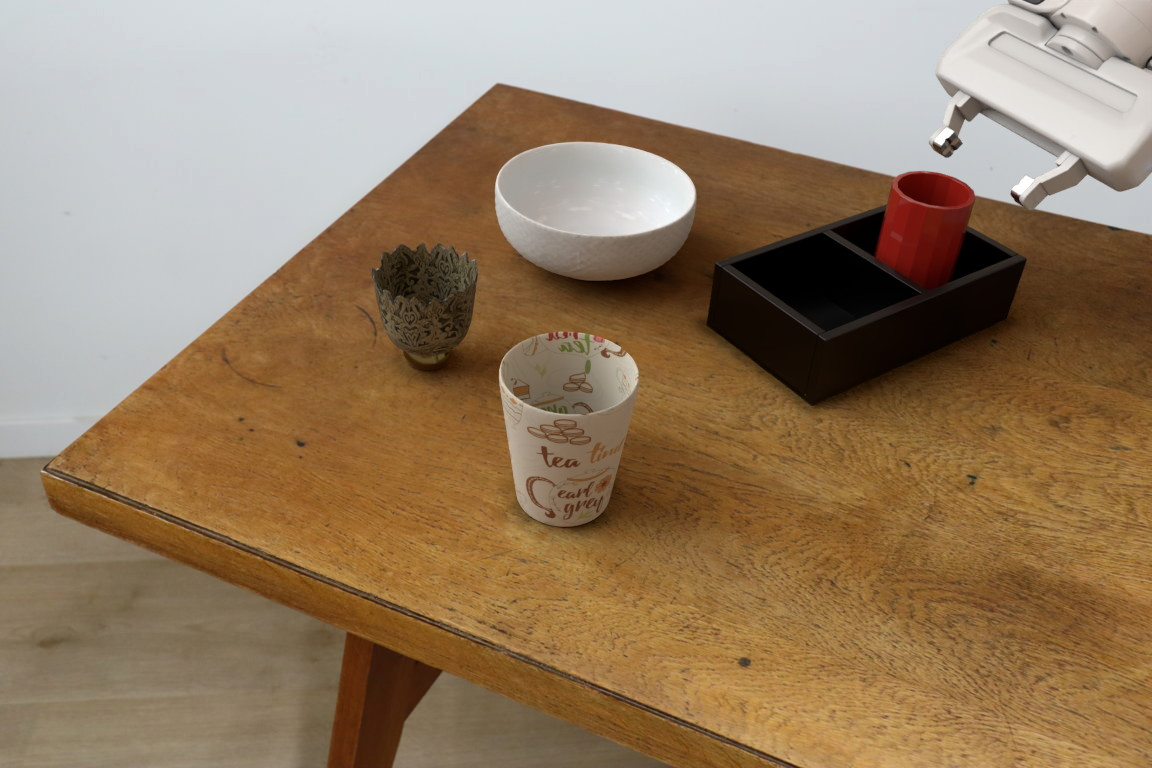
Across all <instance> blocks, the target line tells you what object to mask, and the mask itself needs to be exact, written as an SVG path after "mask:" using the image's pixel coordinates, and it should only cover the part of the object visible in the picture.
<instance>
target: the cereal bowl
mask: <svg viewBox="0 0 1152 768" xmlns="http://www.w3.org/2000/svg"><path fill="white" fill-rule="evenodd" d="M494 185H495V187H494V203H495V207H494V209H495V211H496V217H497V223H498V224H499V228H500V231H501V232H502V234H503V237H505V238H506V240H507V242H508V244H510V245H511V247H512V248H513V249H515V251H517V253H518V254H519V255H521V256H522V258H524V259H525V260H527V261H529V262H530V263H532V264H534V265H535V266H536V267H539V268H541V269H543V270H545V271H547V272H550V273H554V274H556V275H559V276H563V277H567V278H571V279H574V280H580V281H588V282H601V281H603V282H605V281H610V282H611V281H615V280H616V281H617V280H618V281H620V280H625V279H629V278H635V277H637V276H638V277H639V276H640V275H644V274H646V273H650V272H651V271H654V270H656V269H659V267H661V266H664V264H666V263H667V262H669V261H670V260H671V259H672V258H673V257H674V256H676V255H677V254H678V253H677V252H678V251H680V250H681V248H682V247H683V246H684V244H685V243H686V240H687V239H688V238H689V234H690V232H691V230H692V226H693V223H694V219H695V216H696V209H697V201H698V196H697V195H698V194H697V189H696V186H695V184H694V182H693V181H692V179H691V177H690V176H689V175H688V174H687V173H686V172H685V171H684V170H682V168H680V167H679V165H676V164H675V163H674V162H672V161H670V160H668V159H666V158H664V157H662V156H660V155H657V154H655V153H652V152H648V151H645V150H643V149H640V148H635V147H631V146H627V145H621V144H615V143H608V142H607V143H606V142H598V141H597V142H595V141H569V142H568V141H567V142H559V143H558V142H557V143H551V144H546V145H545V144H544V145H542V146H538V147H534V148H531V149H528V150H525V151H522V152H521V153H519V154H516V155H515V156H514V157H512V158H510V159H509V160H507V162H505V163H504V164H503V166H502V167H501V168H500V170H499V171H498V174H497V176H496V180H495V184H494Z"/></svg>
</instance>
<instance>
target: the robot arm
mask: <svg viewBox="0 0 1152 768" xmlns="http://www.w3.org/2000/svg"><path fill="white" fill-rule="evenodd" d="M1007 2H1008V3H1002V4H997V5H995V6H993V7H991V8H988V9H987V10H986V11H984V12H983V13H982V14H980V15H979V16H978V17H977V18H976V19H975V20H973V22H972V23H971V24H970V25H969V26H968V27H966V29H964V30H963V32H961V34H959V36H958V37H957V38H956V39H954V40H953V42H952V43H951V44H950V45H949V46H948V48H946V50H945V51H944V52H943V53H942V54H941V56H940V57H939V59H938V61H937V63H936V69H935V77H936V79H937V80H938V82H939V84H940V85H941V86H942V88H943V89H944V91H945V92H946V93H947V94H948V96H950V97H951V98H950V99H949V100H948V102H947V105H946V109H945V113H944V115H943V119H942V121H941V125H940V126H939V128H938V129H936V130H935V132H934V133H933V134H932V135H931V136H930V137H929V139H928V145H929V146H930V147H931V149H932V150H933V151H934V152H936V153H937V154H939V155H940V156H942V157H944V158H946V159H947V158H948V159H949V158H950V157H952V156H953V155H954V152H955V151H957V150H958V149H959V148H961V146H963V141H962V140H961V138H959V135H960V133H961V131H962V130H961V129H962V127H963V125H964V123H965V121H966V122H967V123H970V122H972V121H973V120H974V119H975V118H976V117H977V116H978V115H979V114H980V115H982V116H984V117H986V118H987V119H990V120H991V121H993V122H995V123H997V124H998V125H1000V126H1002V127H1004V128H1005V129H1007V130H1009V131H1011V132H1012V133H1014V134H1015V135H1017V136H1019V137H1021V138H1023V139H1024V140H1026V141H1028V142H1030V143H1031V144H1033V145H1035V146H1036V147H1038V148H1040V149H1042V150H1043V151H1046V152H1047V153H1048V154H1050V155H1052V156H1054V157H1056V158H1057V159H1055V165H1056V167H1054V168H1053V169H1050V170H1049V171H1046V172H1045V173H1042V174H1040V175H1039V176H1036V177H1034V178H1033V177H1031V176H1030V175H1028V174H1025V175H1024V176H1023V177H1022V178H1021V179H1020V180H1019V183H1018V184H1016V185H1014V186H1013V187H1012V188H1011V190H1010V196H1011V198H1012V199H1013V201H1014V202H1015V203H1017V204H1018V205H1020V206H1021V207H1023V208H1024V209H1025V210H1027V211H1030V212H1031V211H1034V210H1035V209H1036V208H1037V207H1038V206H1039V205H1040V204H1041V203H1042V202H1043V201H1044V200H1046V198H1047V197H1048V196H1053V195H1055V194H1057V193H1060V192H1063V191H1065V190H1068V189H1071V188H1073V187H1077V186H1078V184H1080V183H1081V182H1082V181H1083V180H1084V178H1085V177H1086V176H1089V177H1090V178H1092V179H1094V180H1096V181H1098V182H1100V183H1101V184H1103V185H1105V186H1107V187H1108V188H1110V189H1112V190H1114V191H1116V192H1118V193H1121V192H1126V191H1129V190H1131V189H1135V188H1137V187H1139V186H1140V185H1142V183H1143V182H1144V181H1145V180H1146V179H1147V178H1148V177H1149V176H1150V175H1151V174H1152V0H1007Z"/></svg>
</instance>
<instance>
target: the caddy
mask: <svg viewBox="0 0 1152 768" xmlns="http://www.w3.org/2000/svg"><path fill="white" fill-rule="evenodd" d="M886 206H887V203H886V204H883V205H879V206H877V207H873V208H870V209H868V210H865V211H861V212H859V213H857V214H854V215H851V216H848V217H844V218H841V219H839V220H836V221H833V222H830V223H826V224H823V225H821V226H818V227H815V228H813V229H809V230H807V231H803V232H800V233H798V234H794V235H792V236H788V237H786V238H783V239H780V240H777V241H774V242H771V243H768V244H765V245H762V246H759V247H755V248H753V249H750V250H747V251H745V252H742V253H739V254H736V255H733V256H730V257H726V258H724V259H720V260H717V261H716V262H715V263H714V269H713V276H712V283H711V291H710V296H709V297H710V299H709V303H708V312H707V317H706V318H707V319H706V326H707V327H708V328H710V329H711V330H712V331H714V332H715V333H716V334H718V335H719V336H720V337H722V338H723V339H724V340H726V341H727V342H728V343H730V344H731V345H732V346H734V347H735V348H736V349H737V350H738V351H739V352H741V353H742V354H743V355H745V356H746V357H748V358H749V359H750V360H751V361H753V362H754V363H755V364H756V365H758V366H760V367H761V368H762V369H764V370H765V371H766V372H767V373H768V374H769V375H771V376H772V377H774V378H775V379H776V380H777V381H779V382H780V383H782V384H783V385H784V386H785V387H787V388H788V389H789V390H791V391H792V392H793V393H794V394H796V395H797V396H798V397H800V398H801V399H802V400H804V401H805V402H806V403H807V404H809V405H810V406H814V405H816V404H818V403H821V402H822V401H825V400H827V399H830V398H832V397H834V396H836V395H839V394H841V393H843V392H845V391H847V390H850V389H852V388H854V387H857V386H859V385H861V384H863V383H866V382H869V381H870V380H873V379H874V378H875V379H876V378H877V377H879V376H882V375H884V374H887V373H888V372H891V371H893V370H895V369H897V368H899V367H902V366H904V365H906V364H908V363H911V362H914V361H915V360H918V359H920V358H922V357H925V356H927V355H929V354H931V353H933V352H937V351H938V350H940V349H942V348H944V347H947V346H949V345H952V344H954V343H956V342H958V341H960V340H963V339H965V338H968V337H970V336H972V335H974V334H977V333H979V332H981V331H984V330H986V329H988V328H990V327H992V326H994V325H997V324H999V323H1002V322H1003V321H1006V320H1008V318H1009V313H1010V311H1011V308H1012V305H1013V303H1014V299H1015V296H1016V293H1017V290H1018V288H1019V284H1020V282H1021V278H1022V275H1023V272H1024V269H1025V267H1026V264H1027V260H1028V258H1027V257H1026V256H1024V255H1023V254H1020V253H1019V252H1017V251H1016V250H1013V249H1011V248H1010V247H1008V246H1005V245H1004V244H1002V243H1001V242H999V241H997V240H995V239H993V238H991V237H989V236H987V235H986V234H984V233H982V232H980V231H979V230H977V229H975V228H973V227H971V226H969V225H968V226H967V229H966V232H965V236H964V239H963V243H962V246H961V249H960V253H959V256H958V259H957V263H956V266H955V270H954V273H953V276H952V280H951V282H949V283H947V284H944V285H942V286H939V287H937V288H934V289H932V290H929V291H928V290H927V289H925V288H924V287H922V286H921V285H919V284H917V283H916V282H914V281H912V280H911V279H909V278H908V277H906V276H904V275H903V274H901V273H899V272H898V271H896V270H894V269H893V268H891V267H890V266H888V265H886V264H885V263H883V262H881V261H880V260H878V259H877V258H875V257H874V256H875V251H876V247H877V243H878V239H879V235H880V231H881V227H882V223H883V218H884V214H885V210H886Z"/></svg>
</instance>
